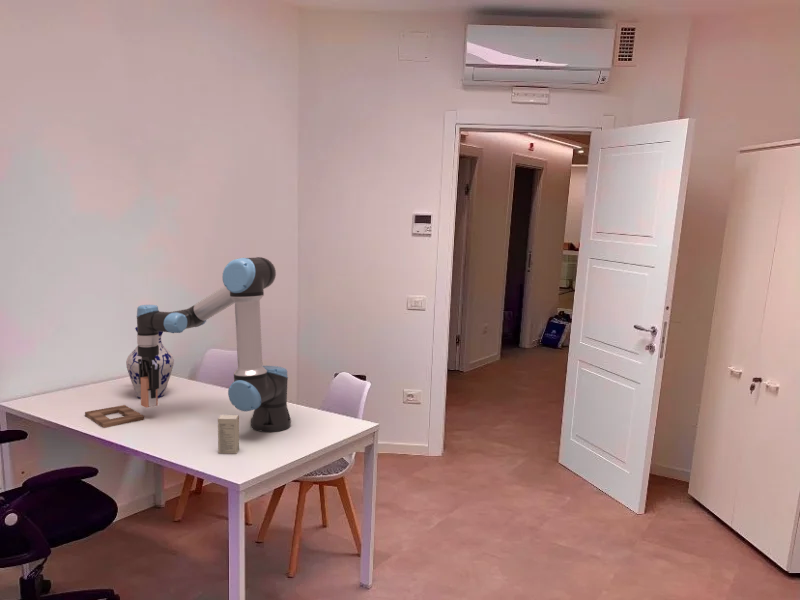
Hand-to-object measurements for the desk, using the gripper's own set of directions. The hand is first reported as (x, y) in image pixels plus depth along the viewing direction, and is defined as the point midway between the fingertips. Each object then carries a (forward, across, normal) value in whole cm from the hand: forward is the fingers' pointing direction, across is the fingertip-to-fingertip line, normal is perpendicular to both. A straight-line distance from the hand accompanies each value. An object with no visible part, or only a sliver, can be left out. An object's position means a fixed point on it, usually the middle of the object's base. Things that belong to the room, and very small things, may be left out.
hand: (149, 404), depth 233 cm
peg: (0, 0, 0) cm, 0 cm away
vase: (+5, +28, -13) cm, 31 cm away
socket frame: (+5, +8, +10) cm, 14 cm away
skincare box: (+6, -49, -5) cm, 50 cm away
